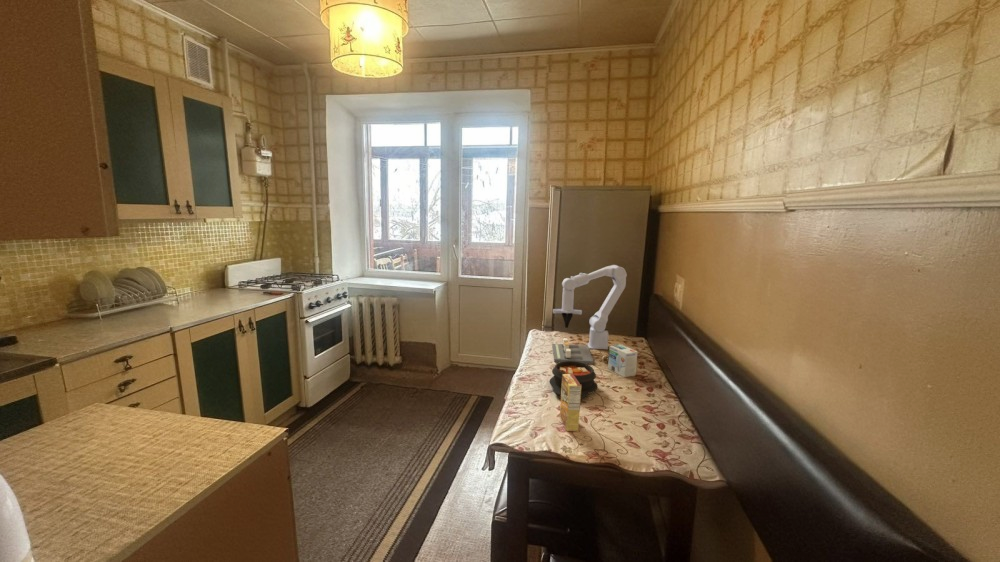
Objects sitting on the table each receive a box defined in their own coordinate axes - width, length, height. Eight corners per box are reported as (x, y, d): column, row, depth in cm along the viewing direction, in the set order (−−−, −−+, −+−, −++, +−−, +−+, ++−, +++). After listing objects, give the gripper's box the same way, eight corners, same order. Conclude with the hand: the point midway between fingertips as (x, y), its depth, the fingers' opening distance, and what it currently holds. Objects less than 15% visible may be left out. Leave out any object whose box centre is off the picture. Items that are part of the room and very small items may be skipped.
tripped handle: (568, 349, 185) (568, 342, 184) (568, 351, 182) (569, 344, 181) (564, 349, 185) (564, 342, 184) (564, 351, 182) (565, 344, 182)
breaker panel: (587, 348, 194) (587, 338, 193) (593, 364, 172) (594, 353, 171) (552, 346, 195) (552, 336, 194) (554, 362, 174) (554, 351, 173)
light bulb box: (607, 368, 168) (608, 345, 166) (618, 366, 170) (620, 343, 169) (624, 377, 158) (626, 353, 156) (636, 375, 161) (638, 351, 159)
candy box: (559, 416, 125) (561, 373, 123) (571, 416, 126) (573, 373, 123) (566, 431, 117) (568, 385, 114) (579, 431, 117) (582, 385, 115)
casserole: (594, 406, 133) (595, 384, 132) (542, 397, 139) (543, 376, 138) (599, 379, 156) (601, 360, 155) (555, 372, 162) (556, 354, 161)
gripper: (553, 302, 188) (552, 328, 191) (583, 303, 187) (581, 330, 189) (553, 299, 195) (552, 324, 198) (581, 300, 194) (579, 326, 196)
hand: (566, 327), depth 194 cm, fingers closed
